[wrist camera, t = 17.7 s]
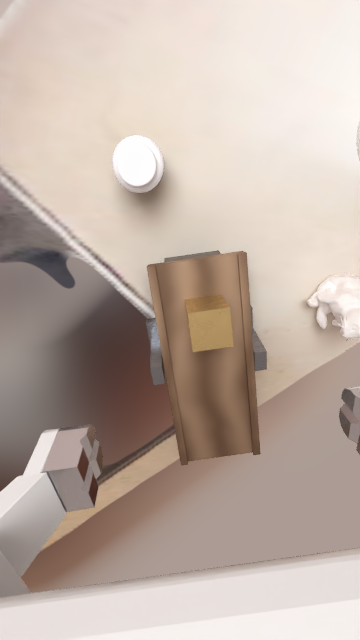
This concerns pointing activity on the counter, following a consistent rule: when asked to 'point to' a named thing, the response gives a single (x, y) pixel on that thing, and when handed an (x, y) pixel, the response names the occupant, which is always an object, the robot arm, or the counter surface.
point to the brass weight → (209, 323)
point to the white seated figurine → (339, 303)
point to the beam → (207, 358)
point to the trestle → (152, 329)
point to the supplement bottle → (138, 164)
